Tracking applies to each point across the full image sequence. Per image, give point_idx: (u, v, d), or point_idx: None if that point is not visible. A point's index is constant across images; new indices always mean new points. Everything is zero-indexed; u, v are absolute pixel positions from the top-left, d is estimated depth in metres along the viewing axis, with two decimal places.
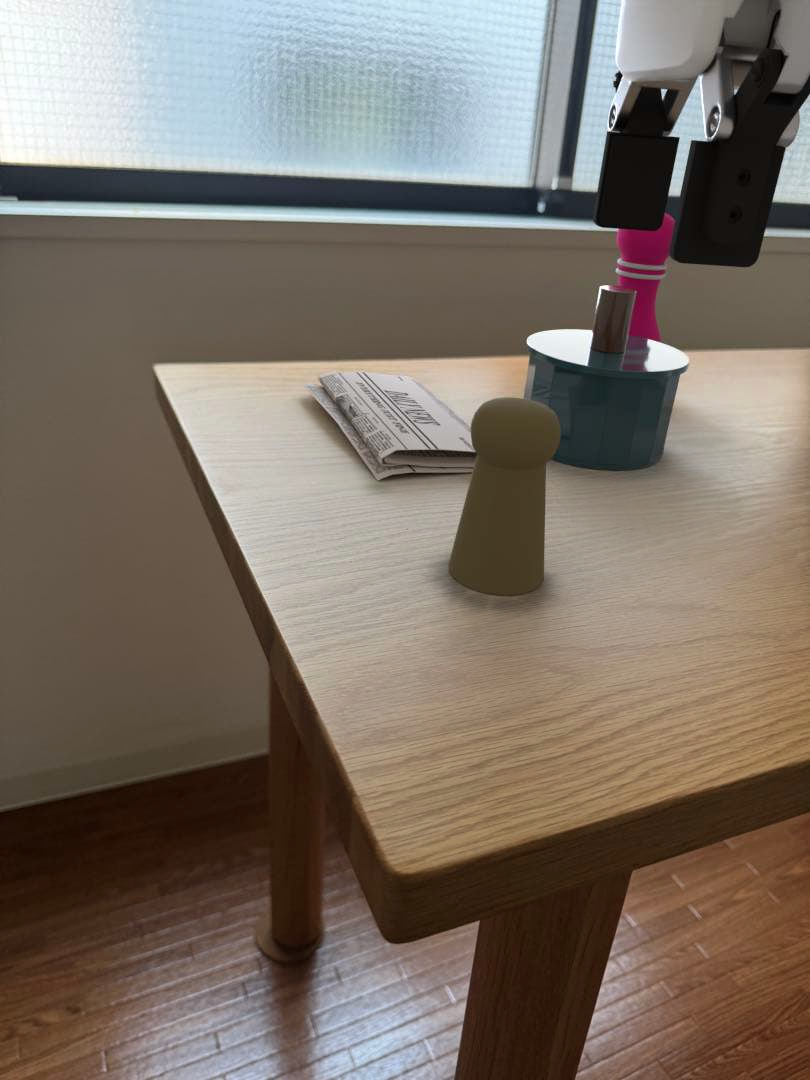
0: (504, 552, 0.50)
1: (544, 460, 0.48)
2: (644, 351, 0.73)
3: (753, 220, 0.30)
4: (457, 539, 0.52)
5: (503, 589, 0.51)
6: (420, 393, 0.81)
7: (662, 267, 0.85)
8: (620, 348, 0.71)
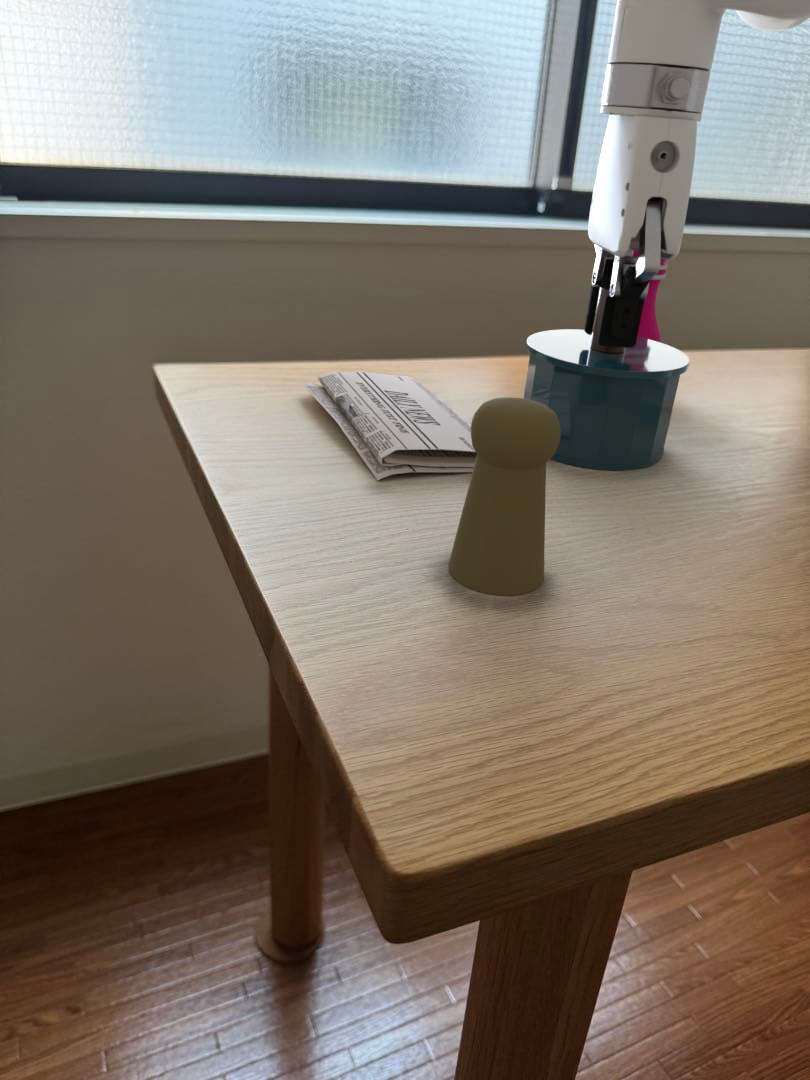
0: (504, 552, 0.50)
1: (544, 460, 0.48)
2: (644, 351, 0.73)
3: (631, 328, 0.69)
4: (457, 539, 0.52)
5: (503, 589, 0.51)
6: (420, 393, 0.81)
7: (662, 267, 0.85)
8: (620, 348, 0.71)
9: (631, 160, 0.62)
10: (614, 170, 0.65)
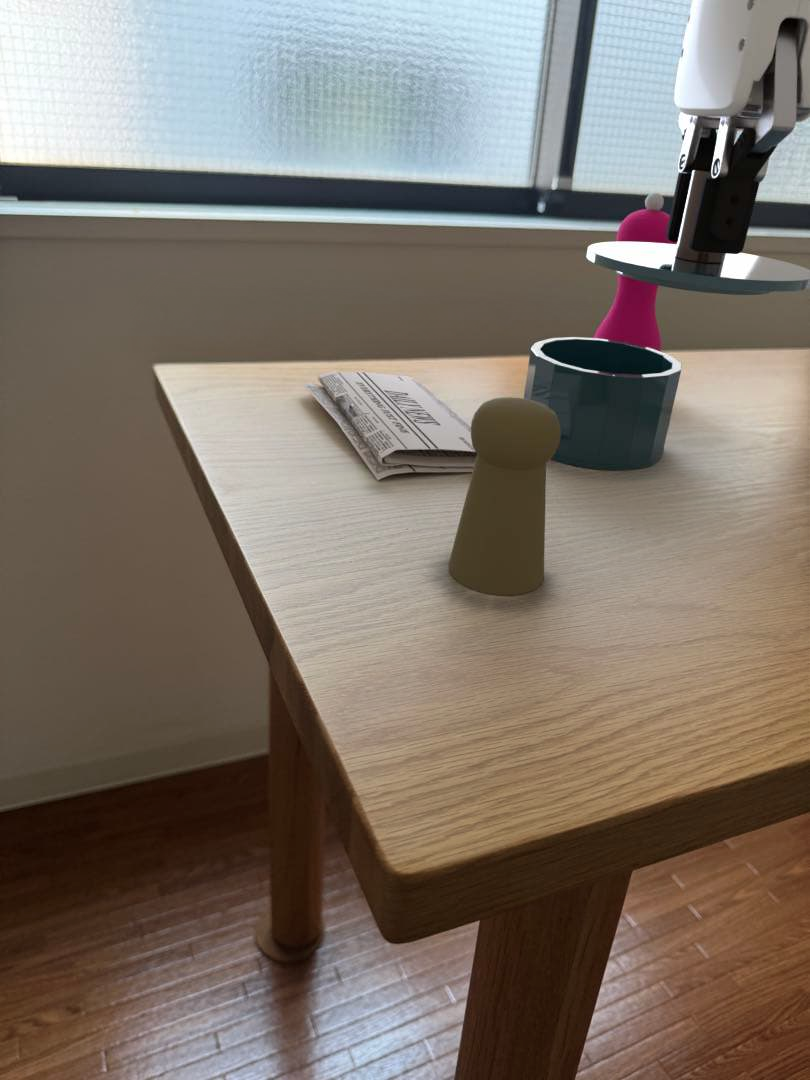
0: (504, 552, 0.50)
1: (544, 460, 0.48)
2: (749, 263, 0.53)
3: (740, 225, 0.49)
4: (457, 539, 0.52)
5: (503, 589, 0.51)
6: (420, 393, 0.81)
7: None
8: (719, 256, 0.52)
9: None
10: None
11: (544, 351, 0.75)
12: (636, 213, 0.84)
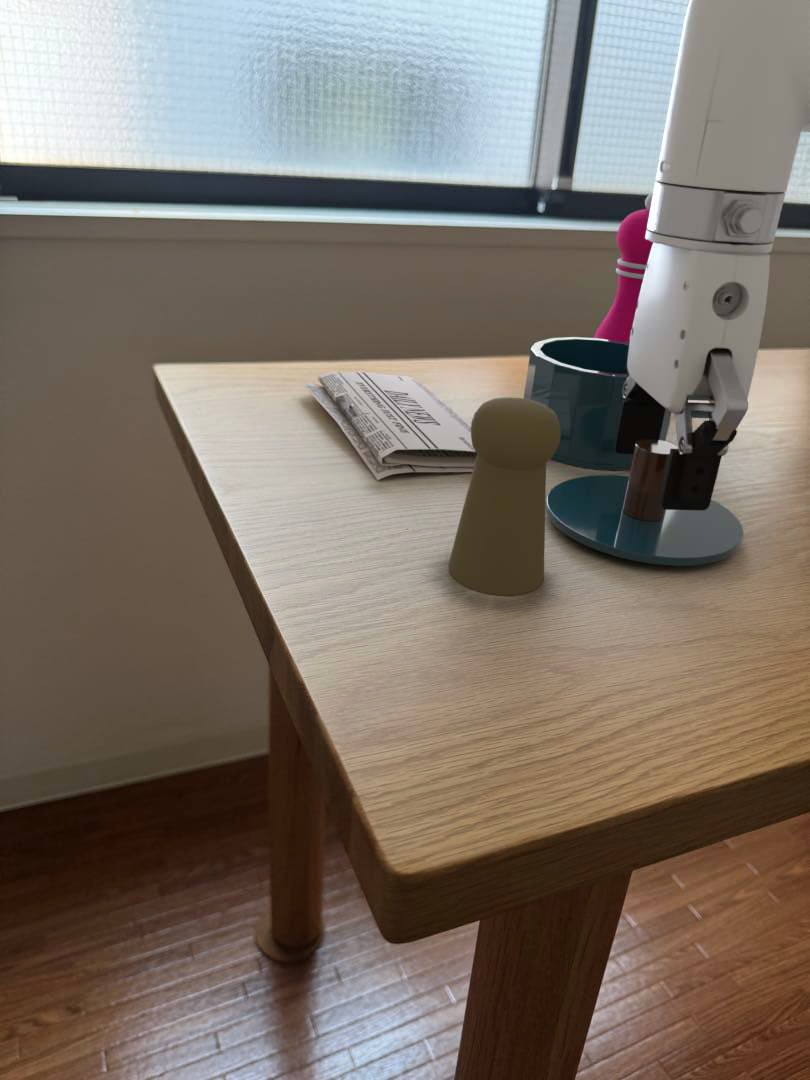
0: (504, 552, 0.50)
1: (544, 460, 0.48)
2: (687, 515, 0.61)
3: (705, 490, 0.54)
4: (457, 539, 0.52)
5: (503, 589, 0.51)
6: (420, 393, 0.81)
7: None
8: (659, 515, 0.59)
9: (688, 304, 0.50)
10: (664, 309, 0.53)
11: (544, 351, 0.75)
12: (636, 213, 0.84)
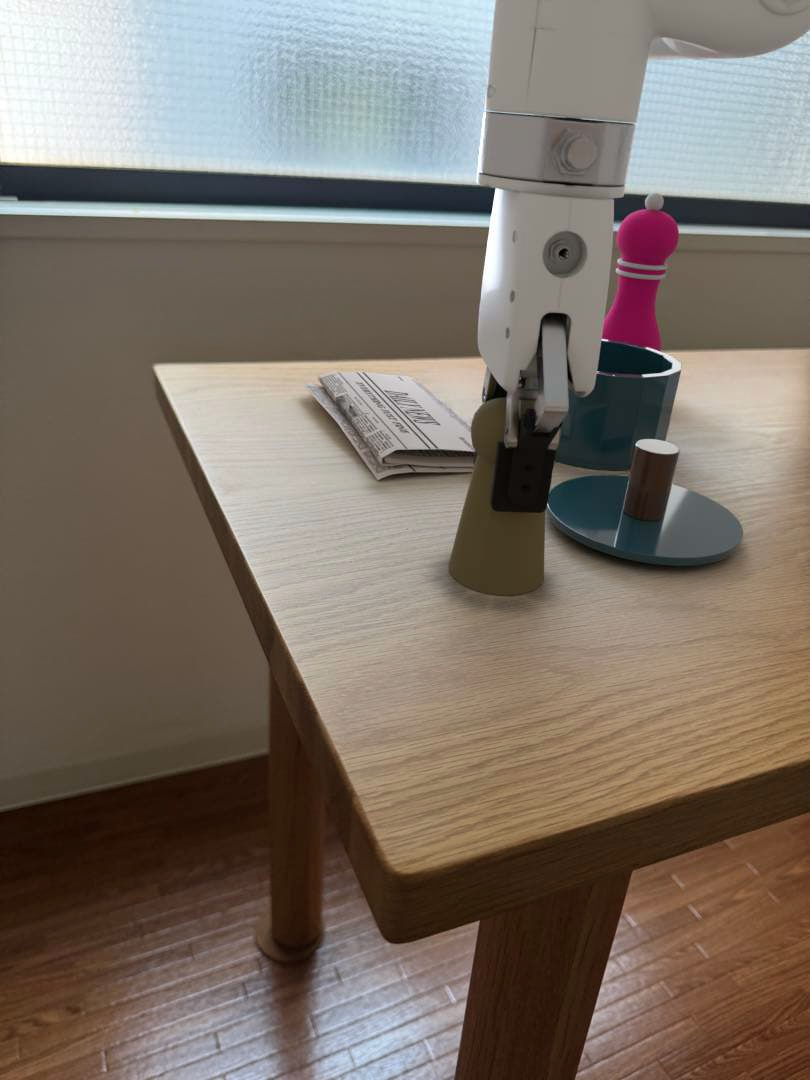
0: (504, 552, 0.50)
1: None
2: (687, 515, 0.61)
3: (537, 490, 0.47)
4: (457, 539, 0.52)
5: (503, 589, 0.51)
6: (420, 393, 0.81)
7: (662, 267, 0.85)
8: (659, 515, 0.59)
9: (516, 259, 0.41)
10: (498, 267, 0.44)
11: None
12: (636, 213, 0.84)
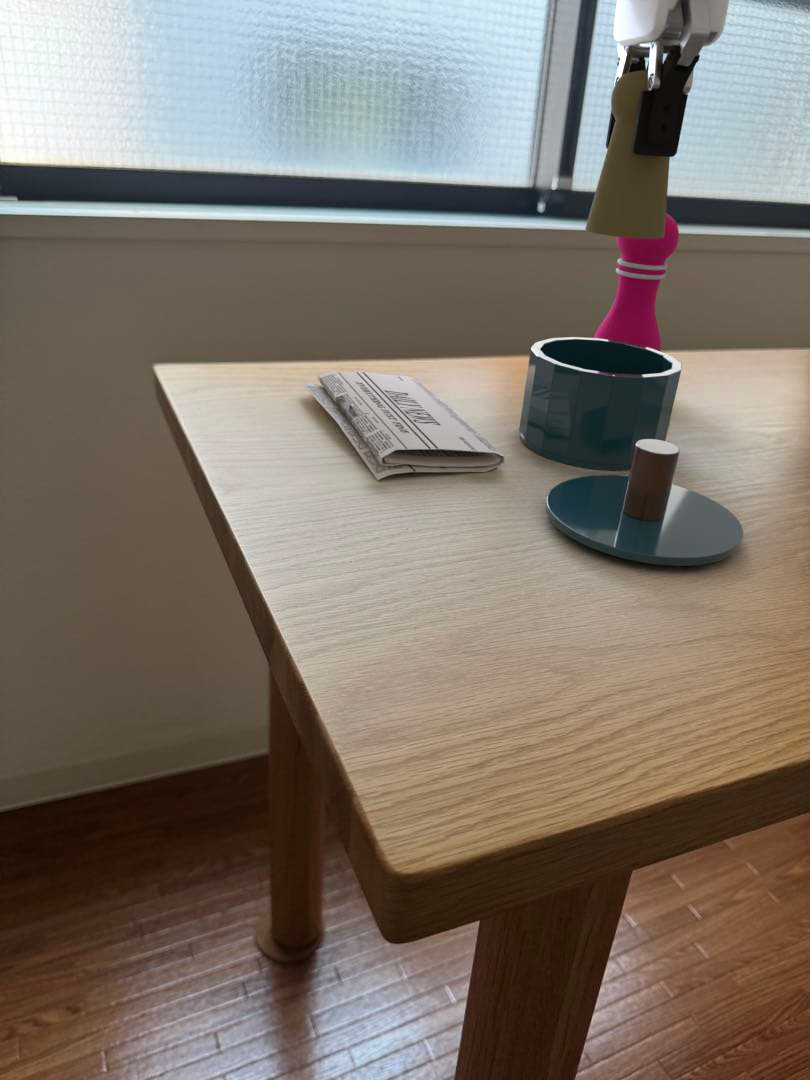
0: (638, 199, 0.62)
1: None
2: (687, 515, 0.61)
3: (672, 130, 0.59)
4: (596, 200, 0.64)
5: (636, 232, 0.63)
6: (420, 393, 0.81)
7: (662, 267, 0.85)
8: (659, 515, 0.59)
9: None
10: None
11: (544, 351, 0.75)
12: None
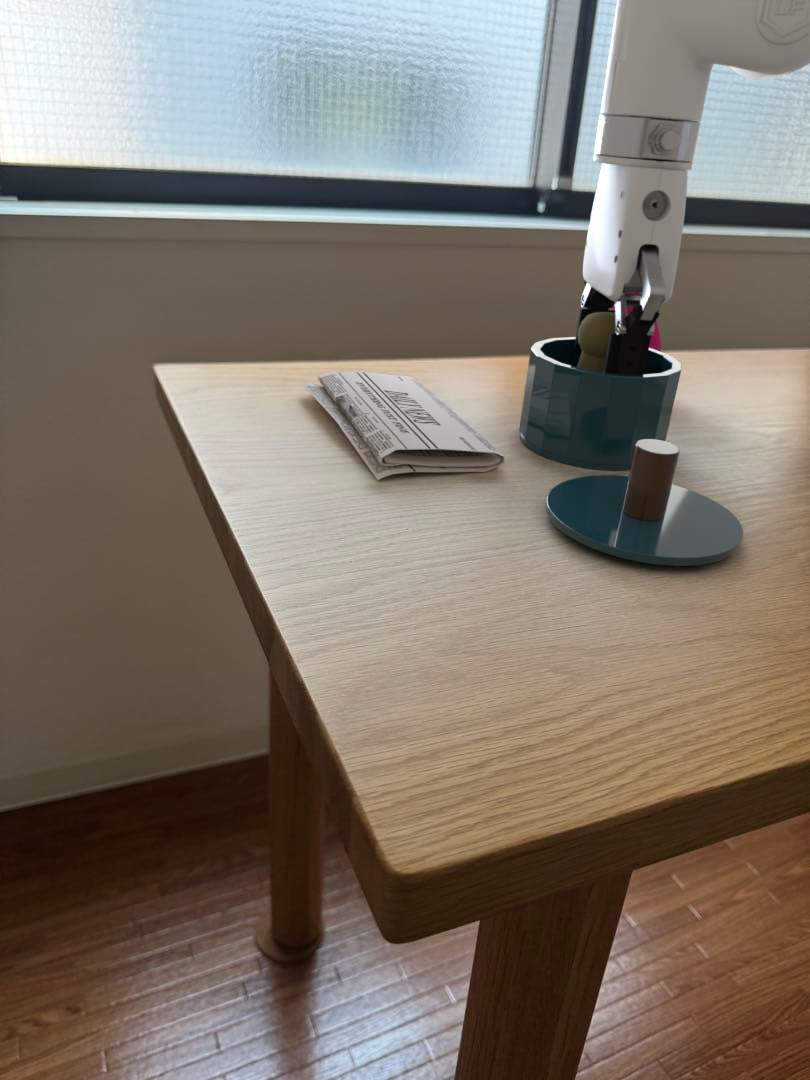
0: None
1: None
2: (687, 515, 0.61)
3: (637, 366, 0.68)
4: None
5: None
6: (420, 393, 0.81)
7: None
8: (659, 515, 0.59)
9: (623, 209, 0.64)
10: (607, 217, 0.66)
11: (544, 351, 0.75)
12: None
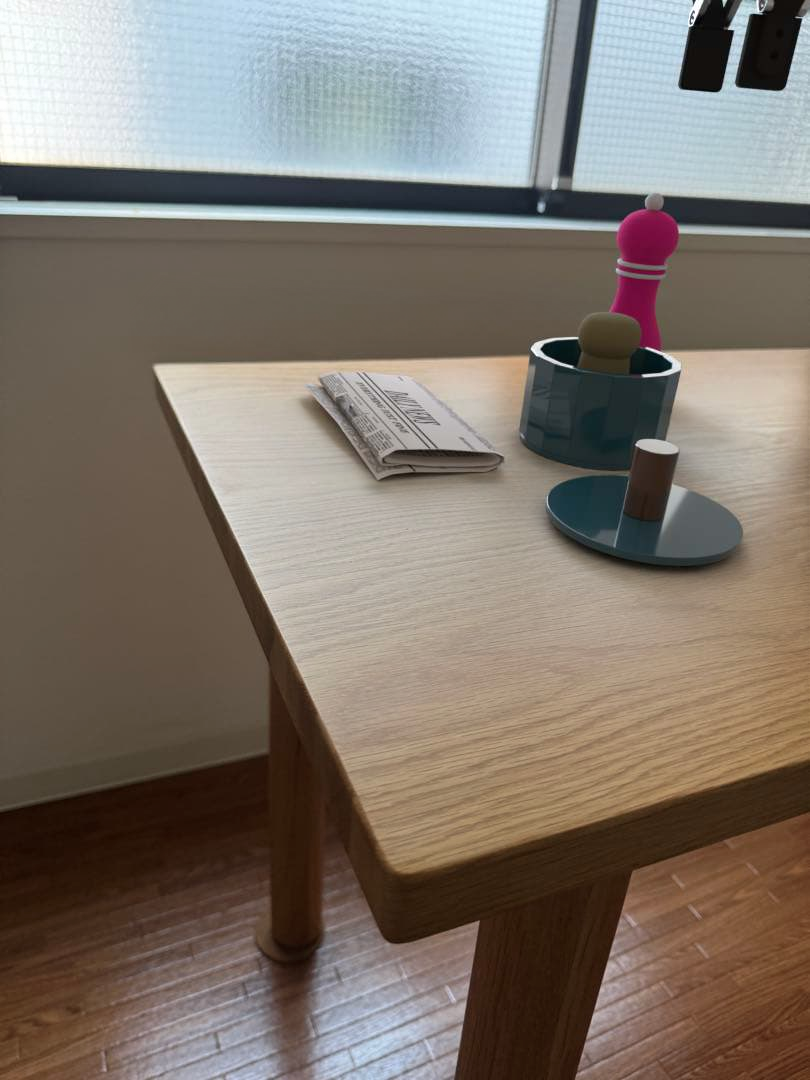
0: None
1: (630, 352, 0.71)
2: (687, 515, 0.61)
3: (784, 59, 0.53)
4: None
5: None
6: (420, 393, 0.81)
7: (662, 267, 0.85)
8: (659, 515, 0.59)
9: None
10: None
11: (544, 351, 0.75)
12: (636, 213, 0.84)
